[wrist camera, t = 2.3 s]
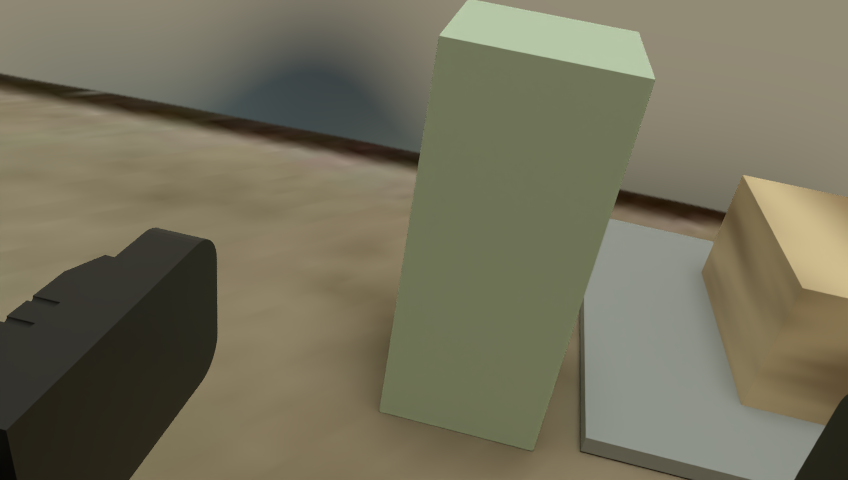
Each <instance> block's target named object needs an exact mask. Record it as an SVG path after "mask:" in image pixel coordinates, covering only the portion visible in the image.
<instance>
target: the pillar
mask: <svg viewBox="0 0 848 480" xmlns="http://www.w3.org/2000/svg"><path fill="white" fill-rule="evenodd" d="M654 82H655V77H654V74H653V71H652V68H651V66H650V63H649V60H648V57H647V54H646V52H645V49H644V46H643V43H642V40H641V38H640V35H639V33H638V32H635V31H630V30H625V29H620V28H615V27H610V26H605V25H600V24H595V23H589V22H584V21H579V20H574V19H569V18H564V17H559V16H554V15H549V14H544V13H539V12H533V11H529V10H523V9H518V8H513V7H508V6H503V5H498V4H493V3H488V2H483V1H477V0H467V2H466V3H465V4H464V6H463V7H462V8H461V9H460V10H459V11H458V13H457V14H456V15H455V16H454V18H453V19H452V20H451V22H450V23H449V24H448V25H447V26H446V28H445V29H444V30H443V31H442V33H441V34H440V35H439V39H438V45H437V52H436V58H435V64H434V70H433V77H432V83H431V89H430V96H429V102H428V108H427V114H426V121H425V127H424V134H423V139H422V145H421V152H420V158H419V164H418V171H417V177H416V183H415V189H414V196H413V202H412V208H411V214H410V221H409V227H408V233H407V239H406V246H405V252H404V258H403V265H402V271H401V277H400V283H399V290H398V296H397V302H396V308H395V315H394V321H393V327H392V333H391V340H390V346H389V352H388V358H387V365H386V371H385V377H384V384H383V390H382V396H381V402H380V409H379V412H383V413H387V414H391V415H394V416H398V417H402V418H406V419H410V420H414V421H418V422H421V423H425V424H429V425H433V426H437V427H441V428H445V429H449V430H452V431H456V432H460V433H464V434H468V435H472V436H476V437H479V438H483V439H487V440H491V441H495V442H499V443H503V444H507V445H510V446H514V447H518V448H522V449H526V450H530V451H533V450H534V447H535V444H536V441H537V438H538V435H539V432H540V429H541V426H542V423H543V419H544V416H545V413H546V410H547V407H548V404H549V401H550V398H551V395H552V392H553V389H554V386H555V383H556V380H557V377H558V374H559V371H560V368H561V365H562V362H563V359H564V356H565V353H566V350H567V347H568V344H569V341H570V338H571V334H572V331H573V328H574V325H575V322H576V319H577V316H578V313H579V310H580V307H581V304H582V301H583V298H584V295H585V292H586V289H587V286H588V283H589V280H590V277H591V274H592V271H593V268H594V265H595V262H596V259H597V256H598V253H599V249H600V246H601V243H602V240H603V237H604V234H605V231H606V228H607V225H608V222H609V219H610V216H611V213H612V210H613V207H614V204H615V201H616V198H617V195H618V192H619V189H620V186H621V182H622V180H623V177H624V174H625V171H626V167H627V165H628V161H629V158H630V155H631V152H632V149H633V146H634V143H635V140H636V137H637V134H638V131H639V128H640V125H641V122H642V119H643V116H644V113H645V110H646V107H647V104H648V101H649V98H650V95H651V92H652V89H653V86H654Z"/></svg>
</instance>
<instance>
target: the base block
mask: <svg viewBox="0 0 848 480" xmlns="http://www.w3.org/2000/svg"><path fill="white" fill-rule="evenodd" d="M701 273H702V276H703V279H704V283H705V286H706V289H707V293H708V296H709V299H710V303H711V306H712V309H713V313H714V316H715V319H716V323H717V326H718V329H719V333H720V336H721V339H722V343H723V346H724V349H725V353H726V356H727V359H728V362H729V366H730V369H731V372H732V376H733V379H734V382H735V386H736V389H737V392H738V396H739V399H740V402H741V405H744V406H748V407H752V408H756V409H760V410H764V411H768V412H772V413H776V414H780V415H784V416H788V417H793V418H797V419H801V420H805V421H809V422H813V423H817V424H821V425H825V426H826V424H827V423H828V421H829V419H830V418H831V416H832V414H833V413H834V411H835V409H836V407H837V406H838V404H839V403H840V401H841V400H842V399H843V398H844V397H845V396H846V395H847V394H848V197H844V196H839V195H834V194H829V193H825V192H820V191H816V190H811V189H806V188H801V187H797V186H792V185H788V184H783V183H778V182H774V181H768V180H764V179H759V178H755V177H750V176H745V175H743V176H742V178H741V181H740V183H739V185H738V188H737V190H736V192H735V195H734V197H733V199H732V202H731V204H730V206H729V209H728V211H727V213H726V216H725V218H724V220H723V223H722V225H721V227H720V230H719V232H718V234H717V237H716V239H715V241H714V244H713V246H712V248H711V251H710V253H709V255H708V258H707V260H706V262H705V265H704V267H703V269H702V272H701Z"/></svg>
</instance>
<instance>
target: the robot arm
mask: <svg viewBox="0 0 848 480" xmlns="http://www.w3.org/2000/svg"><path fill="white" fill-rule="evenodd" d="M216 343H217V256H216V249H215V246H214V244H213V242H211V241H210V240H207V239H203V238H199V237H194V236H190V235H186V234H181V233H177V232H173V231H168V230H164V229H160V228H152V229H149V230H147V231H146V232H145V233H143V234H142V235H141V236H140V237H139V238H137V239H136V240H135V241H134V242H133V243H131V244H130V245H129V246H128V247H127V248H125V249H124V250H123V251H122V252H120V253H119V254H118V255H117V256H116V257H111V256H107V255H104V256H102V257H99V258H97V259H94V260H92V261H89V262H87V263H84V264H82V265H79V266H77V267H75V268H72V269H70V270H67V271H65V272H63V273H62V274H61V275H59V276H58V277H57V278H55V279H54V280H53V281H52V282H50V283H49V284H48V285H46V286H45V287H44V288H42V289H41V290H40V291H39V292H37V293H36V294H35V295H33V299H32V301H26V302H24V303H23V304H22V305H20V306H19V307H18V308H17V309H15V310H14V311H13V312H11V313H10V314H9V315H8V316H7V319H6V321H5V322H0V480H129V479H130V478H131V477H132V475H133V474H134V472H135V471H136V470H137V468H138V467H139V466H140V464H141V463H142V462H143V460H144V459H145V458H146V456H147V455H148V454H149V452H150V451H151V450H152V448H153V447H154V445H155V444H156V443H157V441H158V440H159V439H160V437H161V436H162V435H163V433H164V432H165V431H166V429H167V428H168V427H169V425H170V424H171V422H172V421H173V420H174V418H175V417H176V416H177V414H178V413H179V412H180V410H181V409H182V408H183V406H184V405H185V404H186V402H187V401H188V399H189V398H190V397H191V395H192V394H193V393H194V391H195V390H196V389H197V387H198V386H199V385H200V383H201V382H202V380H203V379H204V377H205V375H206V374H207V372H208V369H209V367H210V365H211V362H212V359H213V356H214V352H215V348H216ZM794 480H848V394H847V395H846V396H845V397H844V398H843V399H842V400H841V401H840V403H839V404H838V406H837V407H836V409H835V411H834V413H833V414H832V416H831V418H830V419H829V421H828V423H827V424H826V426H825V428H824V430H823V431H822V433H821V435H820V436H819V438H818V440H817V441H816V443H815V445H814V447H813V448H812V450H811V452H810V453H809V455H808V457H807V458H806V460H805V462H804V464H803V465H802V467H801V469H800V470H799V472H798V474H797V476H796V477H795V479H794Z"/></svg>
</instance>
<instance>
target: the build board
mask: <svg viewBox="0 0 848 480" xmlns="http://www.w3.org/2000/svg"><path fill="white" fill-rule="evenodd" d="M713 244H714V242H712V241H708V240H703V239H699V238H694V237H690V236H685V235H681V234H676V233H672V232H667V231H663V230H659V229H654V228H650V227H645V226H641V225H636V224H632V223H627V222H623V221H618V220H614V219H609V222H608V225H607V228H606V231H605V234H604V237H603V240H602V243H601V246H600V249H599V253H598V256H597V259H596V262H595V265H594V268H593V271H592V274H591V277H590V280H589V283H588V286H587V289H586V292H585V295H584V298H583V301H582V304H581V307H580V390H581V451H583V452H587V453H591V454H595V455H599V456H602V457H606V458H610V459H614V460H618V461H622V462H626V463H630V464H634V465H637V466H641V467H645V468H649V469H653V470H657V471H661V472H665V473H669V474H673V475H676V476H680V477H684V478H688V479H692V480H794V479H795V477H796V476H797V474H798V472H799V470H800V469H801V467H802V465H803V464H804V462H805V460H806V458H807V457H808V455H809V453H810V452H811V450H812V448H813V447H814V445H815V443H816V441H817V440H818V438H819V436H820V435H821V433H822V431H823V430H824V428H825V425H821V424H817V423H813V422H809V421H805V420H801V419H797V418H793V417H788V416H784V415H780V414H776V413H772V412H768V411H764V410H760V409H756V408H752V407H748V406H744V405H741V402H740V399H739V396H738V392H737V389H736V386H735V382H734V379H733V376H732V372H731V369H730V366H729V362H728V359H727V356H726V353H725V349H724V346H723V343H722V339H721V336H720V333H719V329H718V326H717V323H716V319H715V316H714V313H713V309H712V306H711V303H710V299H709V296H708V293H707V289H706V286H705V283H704V279H703V276H702V273H701V272H702V269H703V267H704V265H705V262H706V260H707V258H708V255H709V253H710V251H711V248H712V246H713Z"/></svg>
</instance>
